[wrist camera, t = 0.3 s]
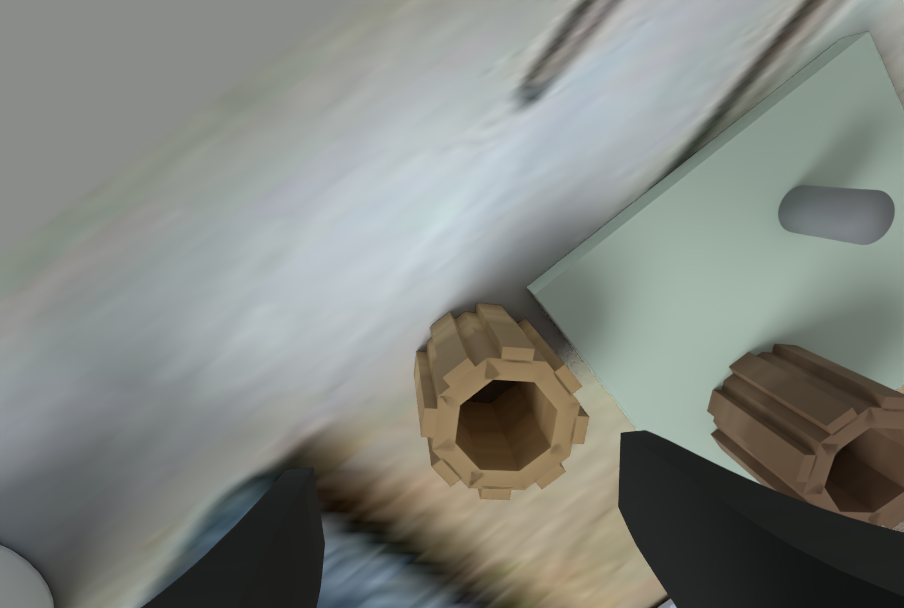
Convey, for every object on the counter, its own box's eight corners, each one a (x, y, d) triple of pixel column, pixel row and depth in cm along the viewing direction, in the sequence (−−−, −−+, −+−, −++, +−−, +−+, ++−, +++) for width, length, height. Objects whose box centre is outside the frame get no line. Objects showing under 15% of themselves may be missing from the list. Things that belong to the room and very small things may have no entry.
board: (966, 310, 23) (1085, 341, 19) (695, 506, 25) (755, 574, 21) (840, 38, 20) (958, 6, 15) (526, 286, 21) (559, 317, 17)
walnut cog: (846, 408, 23) (968, 475, 18) (744, 481, 23) (837, 566, 18) (792, 318, 21) (911, 365, 16) (685, 398, 22) (769, 467, 17)
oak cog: (568, 372, 22) (618, 432, 17) (468, 449, 22) (490, 528, 18) (492, 276, 20) (524, 312, 16) (387, 360, 21) (387, 420, 16)
